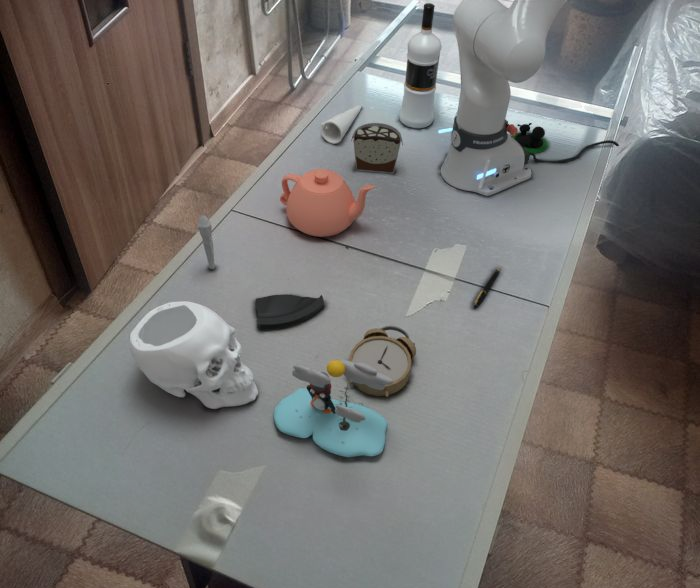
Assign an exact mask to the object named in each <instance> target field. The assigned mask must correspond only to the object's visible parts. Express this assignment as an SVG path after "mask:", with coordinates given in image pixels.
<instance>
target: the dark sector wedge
mask: <svg viewBox="0 0 700 588" xmlns="http://www.w3.org/2000/svg"><path fill="white" fill-rule="evenodd" d="M324 307H325V300H324V297H323V295H322V294H321V295H320V296H319V297H310V296H300V295H295V294H288V293H286V294H273V295H272V294H271V295H267V296H262V297H256V298H255V312H256V315H257V319H256V322H257V324H258V326H259V330H260V331H271V330H281V329H286V328H290V327H293V326H296V325H299V324H301V323H303V322H306V321H307V320H309V319H311V318H312V317H313V316H315V315H316V314H318V313H319V312H320V311H321V310H322V309H323V308H324Z"/></svg>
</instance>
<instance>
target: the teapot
mask: <svg viewBox="0 0 700 588" xmlns="http://www.w3.org/2000/svg"><path fill="white" fill-rule="evenodd" d="M288 181H292V182H294V183H295V184H294V185H293V187H292V189H291V190H290V187H289V184H288ZM281 188H282V191H283V193H281V194H280V196H279V202H280V203H281V204H282V205H284V206H286V209H285V210H286V212H285V213H286V217H287V219H288V220H289V223H290V224H291V225H292V226H293V227H294V228H296V229H297V230H299V231H300V232H301V233H303V234H306V235H308V236H311V237H318V238H325V237H331V236H335V235H338V234H339V233H341V232H343V231H345V230H346V229H348V227H350V226H351V225H352V224H353V222H354V220H357V219H358V218H359V217H360V216H362V214H363V212H364V209H365V205H366V200H367V199H366V197H367V194H368V192H369V191H371V190H373V189H375V188H376V185H375V184H366V185H364V186H362V187H361V188H360V189H359V190H358V193H357V200H356V199H355V195H354V193H353V191H352V189H351V188H350V186H349V185H348V183H347V182H346V180H345V179H344V178H343V177H342V176H341V175H340V174H339V173H338V172H336V171H334V170H330V169H325V168H316V169H311V170H308V171H306V172H305V173H304V174H302V175H301V176H299V175H298V174H295V173H288V174H286V175H284V176H283V178H282V179H281Z"/></svg>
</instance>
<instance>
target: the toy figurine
mask: <svg viewBox="0 0 700 588" xmlns="http://www.w3.org/2000/svg"><path fill="white" fill-rule="evenodd" d="M532 124H533V123H532V122H529V123H528V124H527V123H524V124H519V123H518V124H516V127H519V128H518V131H519V132H517V133H516V134H515V135H514V136H512V135H510V136H511V137H512V138H513V139H515V140H516V141H517V142H518V143H519V144H521V145H522V147H523V148H524V149H525V150H526V151H527V152H530V153H534V154H537V153H542V152H544V151H545V150H547V149H548V145H549V144H548V141H547V140H546V139H545V138H544V136H545V135H546V131H545V129H544V127H542V126H538V125H537V126H535V127H533V129H532V131H531V125H532Z"/></svg>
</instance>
